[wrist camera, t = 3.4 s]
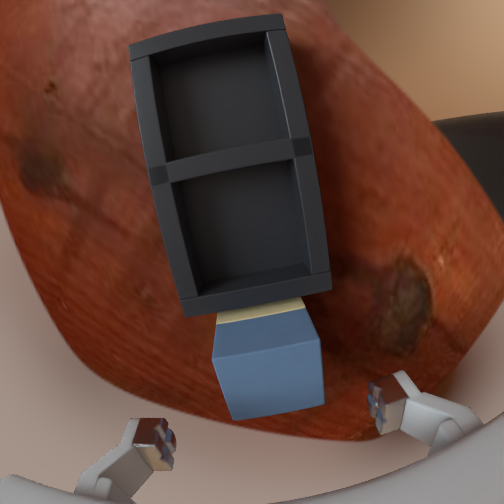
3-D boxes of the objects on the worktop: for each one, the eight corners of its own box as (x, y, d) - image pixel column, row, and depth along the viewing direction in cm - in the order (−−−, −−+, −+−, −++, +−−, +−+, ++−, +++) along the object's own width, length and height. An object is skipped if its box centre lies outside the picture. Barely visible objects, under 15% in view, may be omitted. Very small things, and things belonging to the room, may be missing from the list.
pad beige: (295, 284, 17) (305, 306, 14) (303, 340, 18) (312, 368, 15) (219, 298, 17) (215, 323, 14) (233, 353, 18) (233, 383, 15)
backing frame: (275, 35, 13) (281, 13, 11) (319, 271, 17) (333, 289, 14) (144, 62, 13) (128, 45, 11) (192, 295, 17) (184, 318, 14)
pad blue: (305, 306, 14) (320, 339, 11) (312, 368, 15) (325, 404, 13) (215, 323, 14) (211, 359, 11) (233, 383, 15) (232, 421, 13)
